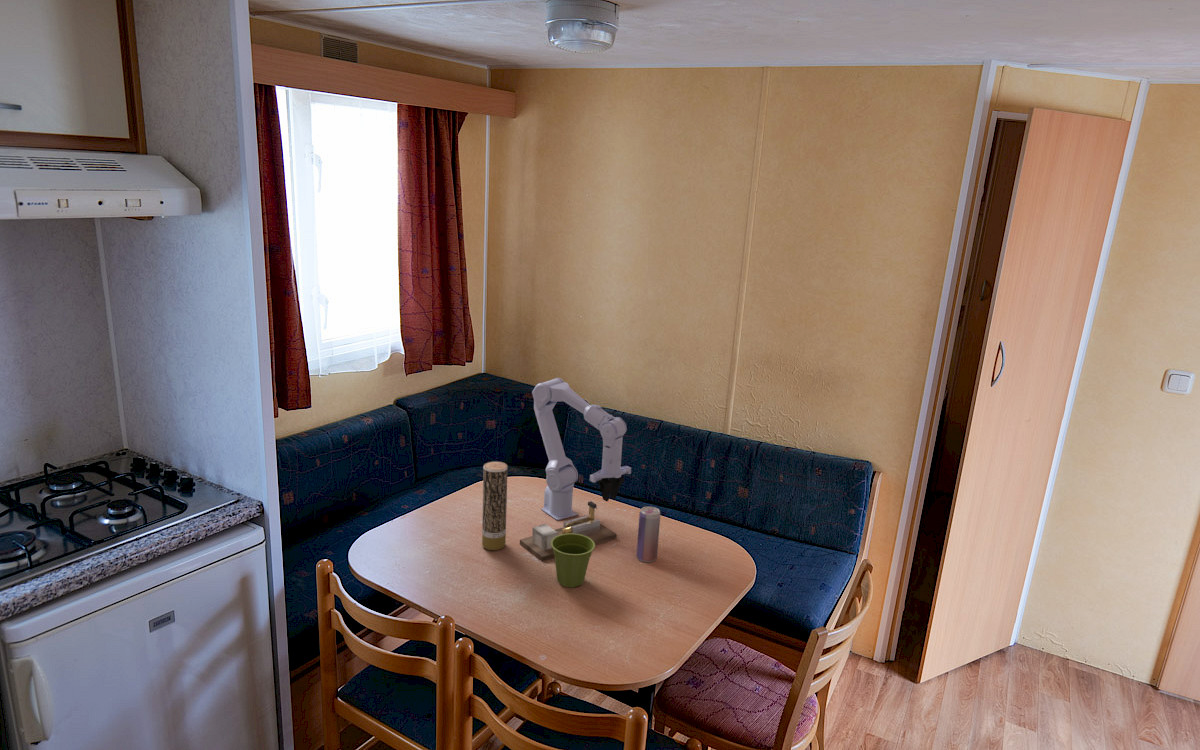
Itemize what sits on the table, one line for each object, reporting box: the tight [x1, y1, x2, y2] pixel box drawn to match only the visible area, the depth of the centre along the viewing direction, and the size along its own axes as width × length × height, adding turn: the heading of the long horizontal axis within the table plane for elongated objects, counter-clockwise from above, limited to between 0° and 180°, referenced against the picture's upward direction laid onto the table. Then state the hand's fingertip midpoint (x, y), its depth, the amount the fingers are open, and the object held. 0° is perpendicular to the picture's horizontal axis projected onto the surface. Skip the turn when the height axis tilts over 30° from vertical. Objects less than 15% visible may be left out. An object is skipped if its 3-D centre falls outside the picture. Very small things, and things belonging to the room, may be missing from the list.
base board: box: [519, 522, 618, 562], centre depth 223 cm, size 12×27×2 cm, turn 127°
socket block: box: [531, 523, 558, 550], centre depth 217 cm, size 6×4×4 cm
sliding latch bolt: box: [562, 501, 598, 534], centre depth 224 cm, size 3×11×8 cm, turn 127°
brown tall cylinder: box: [481, 461, 509, 551], centre depth 215 cm, size 7×7×25 cm
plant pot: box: [551, 533, 596, 588], centre depth 200 cm, size 12×12×11 cm
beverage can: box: [635, 505, 661, 563], centre depth 214 cm, size 6×6×15 cm
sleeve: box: [563, 514, 601, 536], centre depth 225 cm, size 5×10×4 cm, turn 127°
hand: (609, 499), depth 229 cm, fingers open, 2 cm apart
